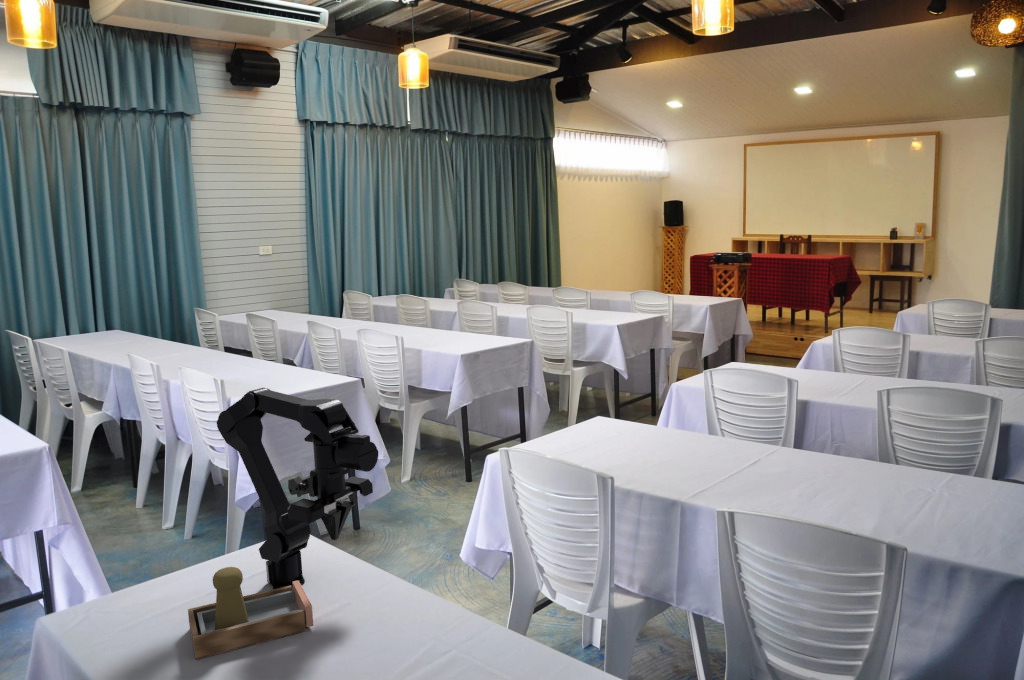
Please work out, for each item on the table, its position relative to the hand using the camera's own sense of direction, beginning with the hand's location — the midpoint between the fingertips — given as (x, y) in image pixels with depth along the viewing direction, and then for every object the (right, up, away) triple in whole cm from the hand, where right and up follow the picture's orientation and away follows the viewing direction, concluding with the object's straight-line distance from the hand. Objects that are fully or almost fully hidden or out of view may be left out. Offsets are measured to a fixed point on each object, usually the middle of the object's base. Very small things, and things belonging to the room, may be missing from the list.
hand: (334, 539), depth 157 cm
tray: (-13, -13, -10) cm, 21 cm away
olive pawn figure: (-16, -13, -12) cm, 24 cm away
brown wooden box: (-13, -14, -10) cm, 22 cm away
